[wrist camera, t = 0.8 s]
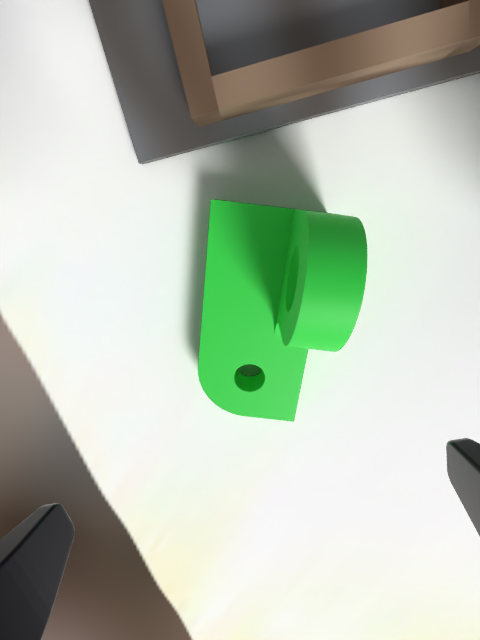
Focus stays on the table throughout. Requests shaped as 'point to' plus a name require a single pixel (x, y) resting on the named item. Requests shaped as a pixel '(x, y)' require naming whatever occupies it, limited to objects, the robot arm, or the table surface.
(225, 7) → the seat
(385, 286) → the table surface
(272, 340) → the mechanical part
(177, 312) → the table surface
